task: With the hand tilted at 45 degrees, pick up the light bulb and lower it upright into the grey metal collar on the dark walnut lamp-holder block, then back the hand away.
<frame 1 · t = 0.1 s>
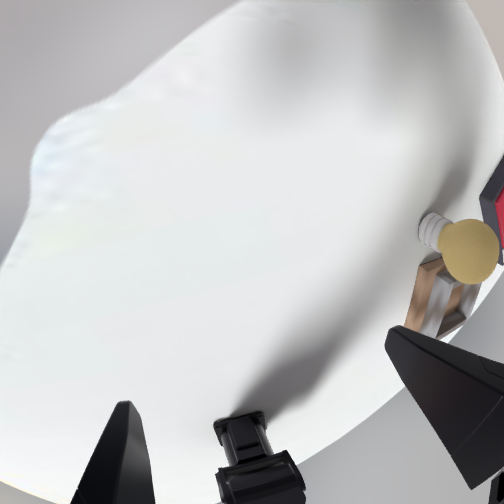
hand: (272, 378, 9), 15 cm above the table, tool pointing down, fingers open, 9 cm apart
lamp holder block: (441, 291, 35), on the table
light bulb: (424, 226, 29), on the table
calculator: (497, 206, 34), on the table
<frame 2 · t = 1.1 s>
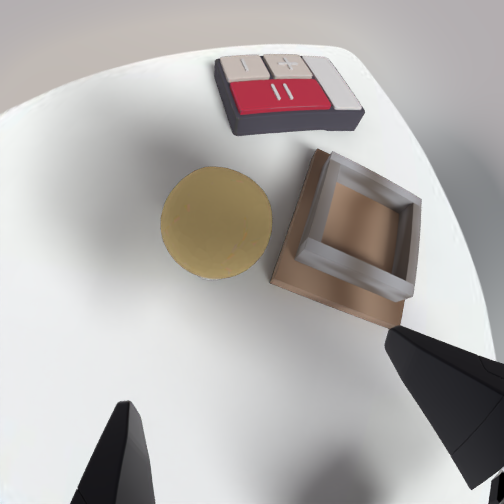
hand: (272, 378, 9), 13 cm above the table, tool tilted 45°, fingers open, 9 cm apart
lamp holder block: (352, 237, 26), on the table
light bulb: (211, 260, 23), on the table
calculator: (283, 101, 32), on the table
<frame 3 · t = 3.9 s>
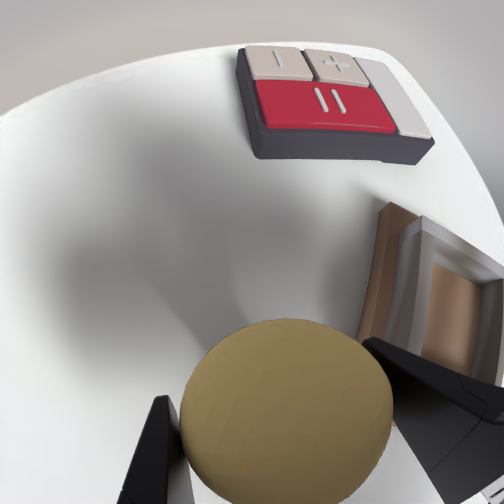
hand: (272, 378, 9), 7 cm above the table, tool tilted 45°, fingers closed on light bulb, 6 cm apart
lamp holder block: (431, 328, 17), on the table
light bulb: (250, 392, 14), on the table, touching gripper
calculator: (326, 115, 23), on the table
when the fingers open (9 cm above the table, at t = 7.9 s): light bulb stays where it is, resting on lamp holder block.
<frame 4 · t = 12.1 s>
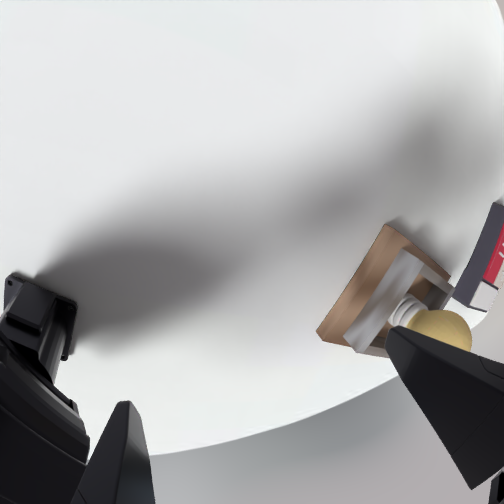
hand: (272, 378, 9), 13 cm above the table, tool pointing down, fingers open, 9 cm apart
lamp holder block: (390, 298, 29), on the table
light bulb: (396, 304, 28), point 1 cm above the table, touching lamp holder block
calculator: (482, 256, 34), on the table
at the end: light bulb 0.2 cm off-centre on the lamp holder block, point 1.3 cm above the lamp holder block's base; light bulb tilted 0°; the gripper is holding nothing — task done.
